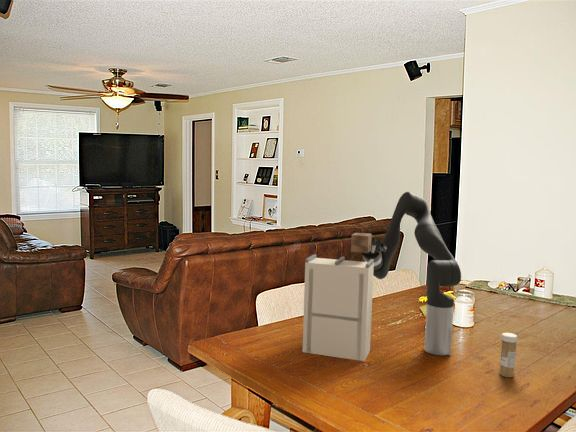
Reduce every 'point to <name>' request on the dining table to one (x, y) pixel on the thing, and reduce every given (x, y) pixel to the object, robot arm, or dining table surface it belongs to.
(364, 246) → the walnut bar
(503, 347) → the sprinkles bottle
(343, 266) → the off-white tall box
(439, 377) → the dining table surface
